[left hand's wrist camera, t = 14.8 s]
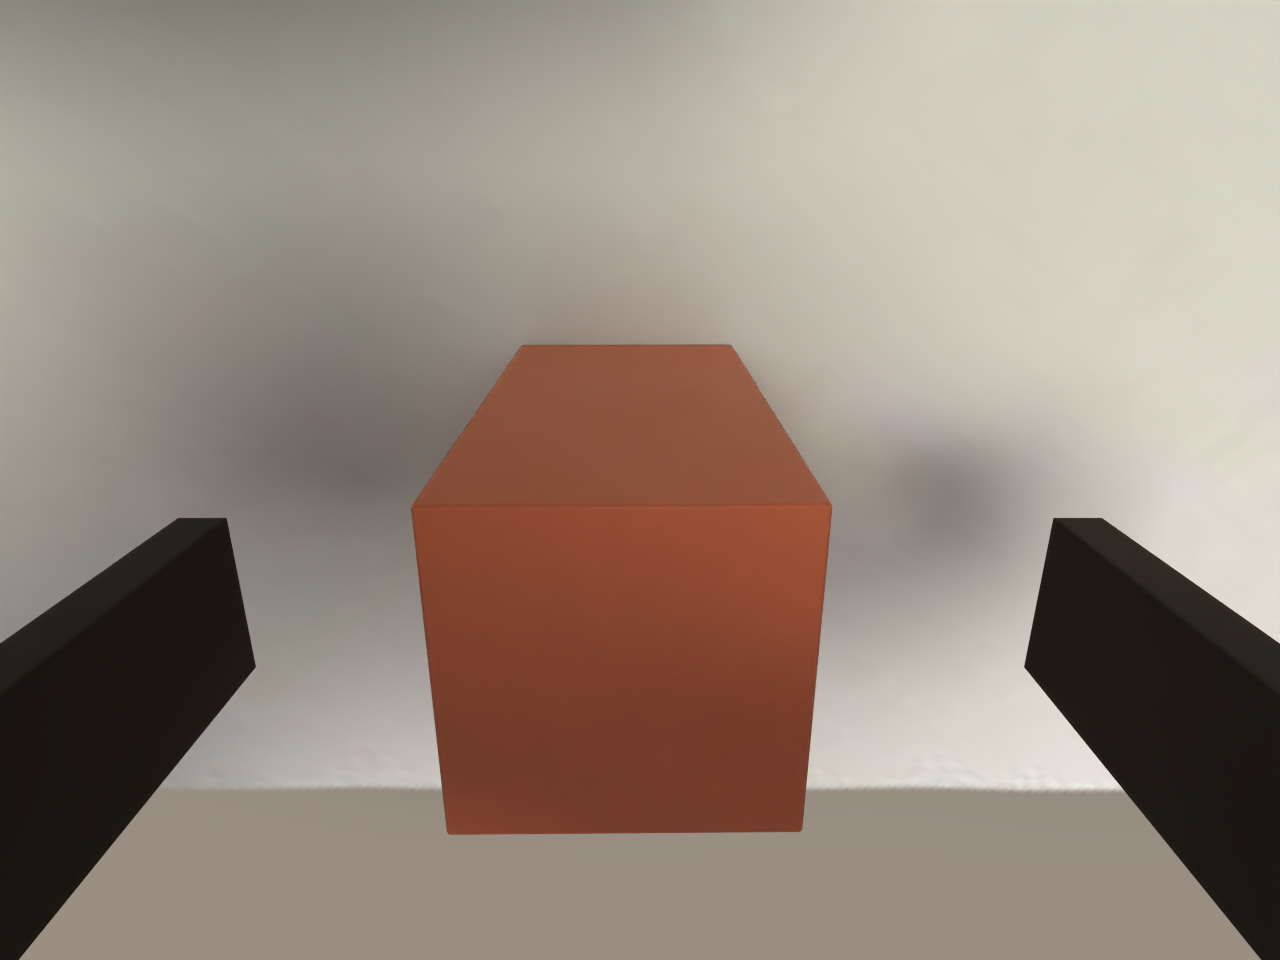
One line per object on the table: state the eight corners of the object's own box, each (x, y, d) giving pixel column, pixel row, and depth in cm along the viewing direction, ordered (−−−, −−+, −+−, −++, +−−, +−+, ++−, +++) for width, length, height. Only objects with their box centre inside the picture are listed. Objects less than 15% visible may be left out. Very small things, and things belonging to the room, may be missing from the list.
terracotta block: (531, 537, 20) (446, 836, 11) (521, 344, 19) (409, 506, 9) (723, 536, 20) (803, 833, 11) (732, 344, 19) (833, 504, 9)
